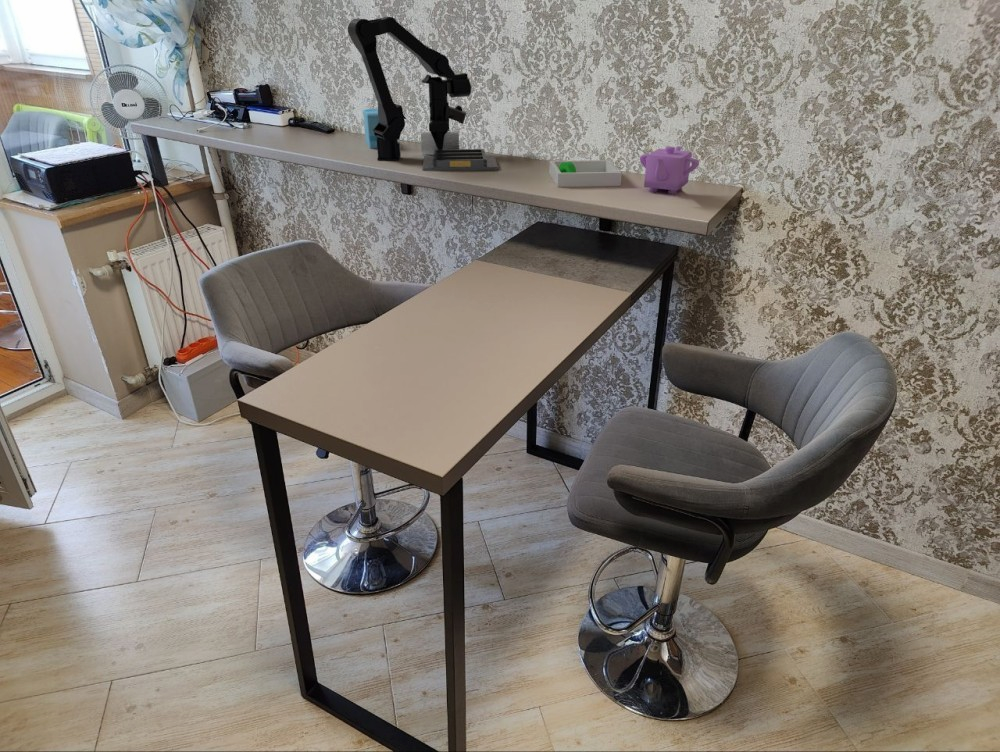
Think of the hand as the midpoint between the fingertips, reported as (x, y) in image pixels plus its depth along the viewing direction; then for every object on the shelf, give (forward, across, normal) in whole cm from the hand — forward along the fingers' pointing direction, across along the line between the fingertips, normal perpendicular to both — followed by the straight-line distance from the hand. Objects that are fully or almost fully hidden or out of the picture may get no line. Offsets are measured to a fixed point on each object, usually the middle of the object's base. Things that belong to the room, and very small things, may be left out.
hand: (440, 150), depth 221 cm
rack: (+2, -16, -6) cm, 17 cm away
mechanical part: (+4, -46, -34) cm, 58 cm away
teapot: (+2, -52, -59) cm, 79 cm away
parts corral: (+2, -38, -40) cm, 55 cm away
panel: (+2, 0, 0) cm, 2 cm away
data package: (+2, +14, +22) cm, 26 cm away
